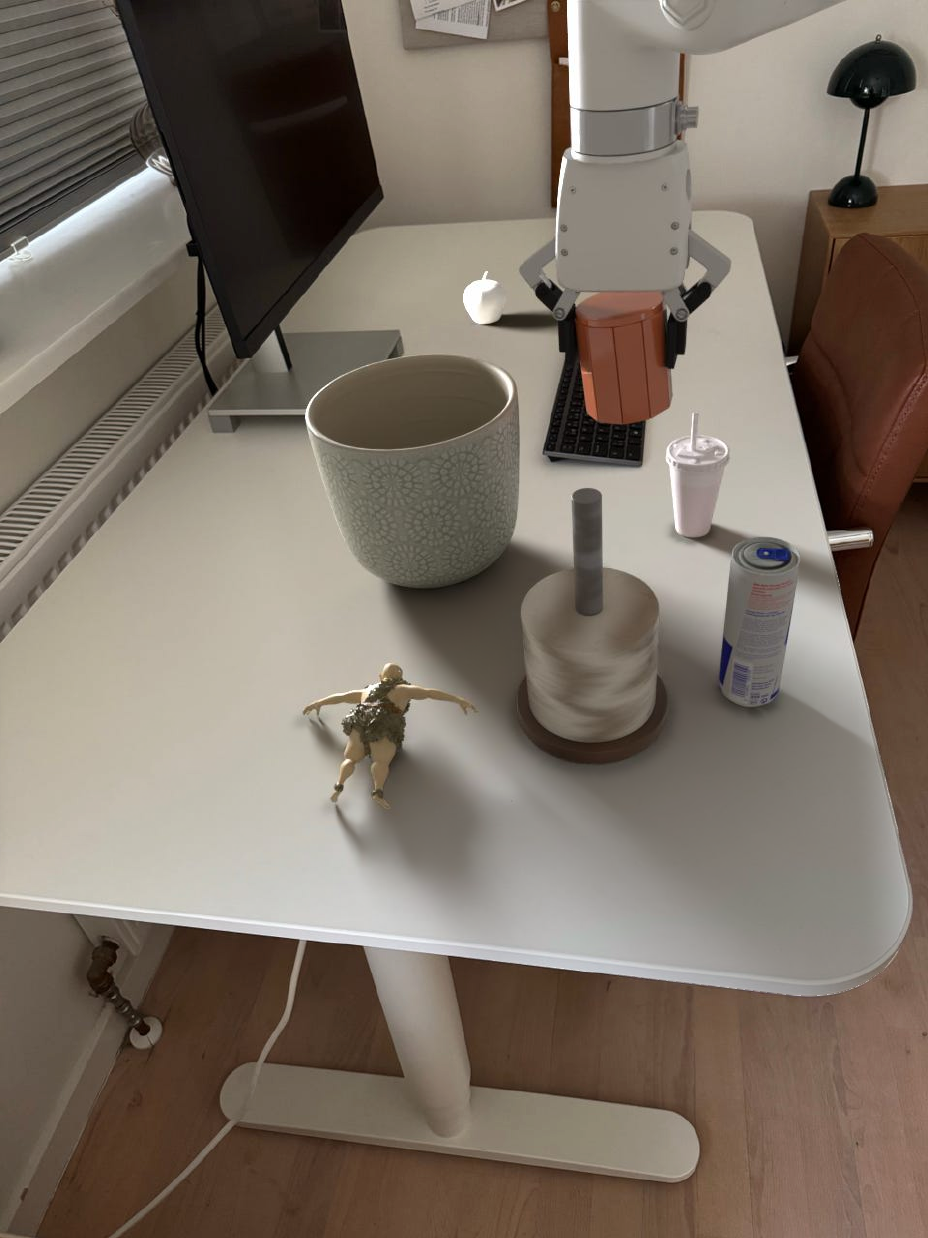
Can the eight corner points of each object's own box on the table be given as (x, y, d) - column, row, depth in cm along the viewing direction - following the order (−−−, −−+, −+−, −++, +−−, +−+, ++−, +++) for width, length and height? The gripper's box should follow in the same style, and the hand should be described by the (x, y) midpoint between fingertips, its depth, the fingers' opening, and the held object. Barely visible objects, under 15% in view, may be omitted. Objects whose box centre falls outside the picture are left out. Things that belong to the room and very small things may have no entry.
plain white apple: (505, 327, 146) (501, 278, 141) (463, 329, 148) (457, 280, 143) (510, 310, 152) (506, 263, 147) (469, 312, 153) (464, 265, 148)
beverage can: (778, 675, 79) (801, 536, 70) (777, 716, 76) (801, 575, 66) (719, 668, 81) (733, 531, 71) (715, 708, 77) (729, 569, 67)
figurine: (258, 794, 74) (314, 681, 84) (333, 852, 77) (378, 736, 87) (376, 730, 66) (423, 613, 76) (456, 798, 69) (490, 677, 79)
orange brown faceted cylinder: (581, 396, 81) (568, 298, 76) (664, 379, 80) (656, 279, 75) (592, 430, 75) (579, 327, 70) (681, 413, 75) (674, 307, 69)
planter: (561, 526, 101) (554, 367, 89) (468, 637, 88) (445, 469, 76) (409, 490, 110) (384, 342, 98) (304, 586, 97) (260, 429, 85)
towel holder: (674, 666, 81) (687, 454, 67) (657, 775, 72) (667, 555, 58) (536, 651, 85) (520, 446, 71) (502, 752, 76) (476, 540, 62)
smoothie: (652, 520, 100) (656, 405, 91) (704, 506, 101) (713, 391, 92) (680, 550, 95) (687, 432, 86) (734, 535, 96) (746, 417, 87)
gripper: (752, 109, 64) (731, 344, 75) (518, 122, 69) (531, 341, 80) (747, 135, 59) (725, 383, 70) (493, 147, 64) (511, 377, 75)
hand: (621, 359), depth 75 cm, fingers closed on orange brown faceted cylinder, 7 cm apart
